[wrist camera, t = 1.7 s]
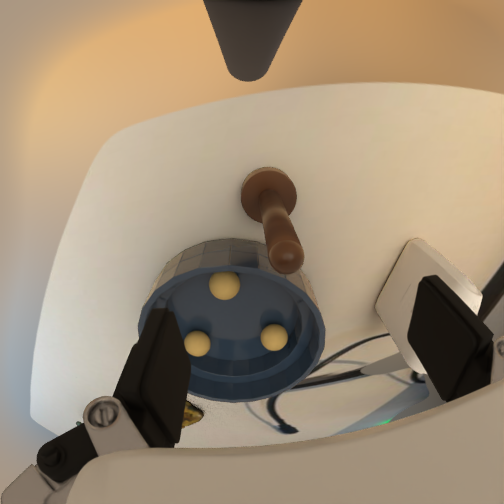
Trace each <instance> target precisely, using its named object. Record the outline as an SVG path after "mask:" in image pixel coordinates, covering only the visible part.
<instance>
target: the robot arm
mask: <svg viewBox="0 0 504 504" xmlns="http://www.w3.org/2000/svg"><path fill="white" fill-rule="evenodd" d="M493 335H494V334H493V333H492V332H491V331H490V329H489V328H488V327H487V326H486V325H485V324H484V323H483V322H482V321H481V319H480V318H479V317H478V316H477V315H476V314H475V313H474V312H473V311H472V310H471V309H470V308H469V307H468V305H467V304H466V303H465V302H464V301H463V300H462V299H461V298H460V297H459V296H458V295H457V294H456V293H455V292H454V291H453V290H452V289H451V288H450V287H449V286H448V285H447V284H446V283H445V282H444V281H443V280H442V279H441V278H440V277H439V276H438V275H430V276H424V277H423V278H422V280H421V281H420V282H419V283H418V288H417V293H416V298H415V303H414V307H413V312H412V316H411V320H410V324H409V328H408V332H407V340H408V342H409V344H410V346H411V347H412V349H413V350H414V352H415V354H416V355H417V357H418V359H419V360H420V362H421V364H422V365H423V367H424V369H425V371H426V372H427V374H428V376H429V377H430V379H431V381H432V383H433V384H434V386H435V388H436V390H437V392H438V393H439V395H440V397H441V399H442V400H445V401H446V402H447V403H446V404H443V405H441V406H438V407H435V408H433V409H430V410H427V411H424V412H421V413H418V414H415V415H412V416H409V417H406V418H403V419H400V420H396V421H393V422H390V423H386V424H383V425H379V426H375V427H371V428H367V429H363V430H359V431H355V432H350V433H346V434H341V435H336V436H331V437H325V438H319V439H313V440H307V441H300V442H293V443H284V444H275V445H265V446H251V447H231V448H174V445H175V443H179V441H180V435H181V429H182V423H183V417H184V410H185V404H186V399H187V393H188V387H189V381H190V376H191V363H190V360H189V357H188V354H187V351H186V348H185V345H184V342H183V339H182V336H181V333H180V329H179V326H178V323H177V320H176V317H175V314H174V312H173V311H169V309H168V308H153V309H152V310H151V312H150V314H149V317H148V319H147V321H146V324H145V326H144V328H143V331H142V333H141V335H140V338H139V340H138V342H137V343H136V344H134V345H133V347H132V349H131V352H130V354H129V356H128V359H127V361H126V364H125V366H124V369H123V371H122V374H121V376H120V379H119V381H118V384H117V386H116V389H115V391H114V394H113V397H111V396H102V397H99V398H96V399H94V400H93V401H91V402H90V403H89V404H88V405H87V406H86V408H85V410H84V413H83V421H84V423H82V424H80V425H78V426H77V427H75V428H73V429H71V430H69V431H68V432H66V433H64V434H62V435H60V436H58V437H56V438H55V439H53V440H51V441H49V442H47V443H46V444H44V445H43V446H42V447H41V448H40V449H39V452H38V454H37V464H36V465H35V466H34V465H33V464H31V465H30V466H29V467H28V468H27V469H26V470H25V471H24V472H23V473H22V474H20V475H19V476H18V477H17V478H16V479H15V480H14V481H13V482H12V483H11V484H10V485H9V486H8V487H7V488H6V489H5V490H4V491H3V493H2V496H1V504H504V337H499V338H498V339H496V341H495V342H493V341H492V338H493Z"/></svg>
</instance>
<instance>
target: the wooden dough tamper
mask: <svg viewBox="0 0 504 504" xmlns="http://www.w3.org/2000/svg"><path fill="white" fill-rule="evenodd" d="M296 200H297V194H296V189H295V186H294V184H293V183H292V181H291V180H290V179H289V177H288V176H287V175H286V174H285V173H284V172H282V171H281V170H279V169H276V168H273V167H263V168H259V169H256V170H254V171H253V172H251V173H250V174H249V175H248V176H247V177H246V179H245V180H244V182H243V185H242V189H241V202H242V206H243V208H244V210H245V212H246V213H247V215H248V216H249V217H251V218H252V219H253V220H255V221H257V222H260V223H263V228H264V234H265V240H266V246H267V252H268V258H269V263H270V265H271V267H272V268H273V269H274V270H275V271H276V272H278V273H280V274H284V275H289V274H293V273H295V272H297V271H298V270H299V269H300V268H301V267H302V265H303V262H304V251H303V249H302V246H301V244H300V241H299V239H298V237H297V234H296V232H295V230H294V227H293V225H292V223H291V220H290V218H289V215H290V214H291V212H292V211H293V209H294V207H295V204H296Z"/></svg>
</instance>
